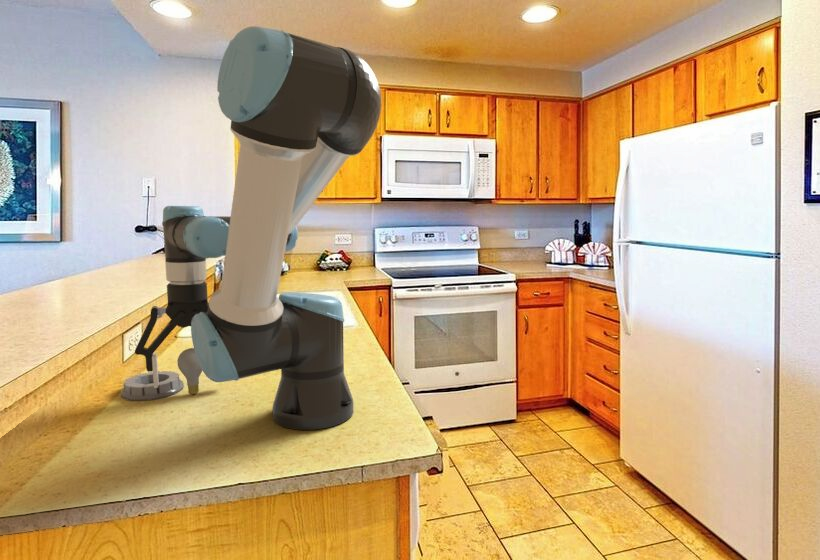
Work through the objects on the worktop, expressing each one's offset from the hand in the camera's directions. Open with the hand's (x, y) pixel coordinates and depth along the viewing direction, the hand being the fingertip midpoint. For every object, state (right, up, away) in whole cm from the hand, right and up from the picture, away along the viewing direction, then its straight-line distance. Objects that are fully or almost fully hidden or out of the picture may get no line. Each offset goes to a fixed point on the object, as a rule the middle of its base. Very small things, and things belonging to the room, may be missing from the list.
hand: (192, 381), depth 104 cm
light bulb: (0, -3, 0) cm, 3 cm away
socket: (-10, -2, +2) cm, 10 cm away
